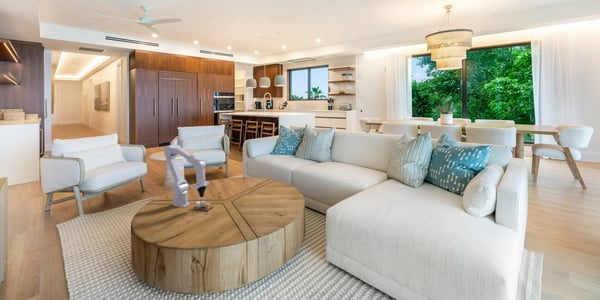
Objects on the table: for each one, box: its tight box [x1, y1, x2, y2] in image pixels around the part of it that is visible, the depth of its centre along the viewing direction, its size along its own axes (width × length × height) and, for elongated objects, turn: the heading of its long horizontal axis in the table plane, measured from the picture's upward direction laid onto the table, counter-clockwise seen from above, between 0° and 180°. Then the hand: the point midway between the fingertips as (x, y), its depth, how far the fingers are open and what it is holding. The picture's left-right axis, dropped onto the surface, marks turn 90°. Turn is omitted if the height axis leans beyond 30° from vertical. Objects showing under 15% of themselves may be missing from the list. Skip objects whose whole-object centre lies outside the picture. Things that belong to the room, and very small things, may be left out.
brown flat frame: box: [193, 205, 214, 212], centre depth 207 cm, size 12×7×1 cm, turn 72°
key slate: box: [199, 200, 207, 207], centre depth 207 cm, size 3×3×3 cm
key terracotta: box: [205, 202, 212, 209], centre depth 206 cm, size 3×3×3 cm
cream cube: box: [195, 200, 201, 207], centre depth 208 cm, size 3×3×3 cm
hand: (201, 196), depth 206 cm, fingers closed
